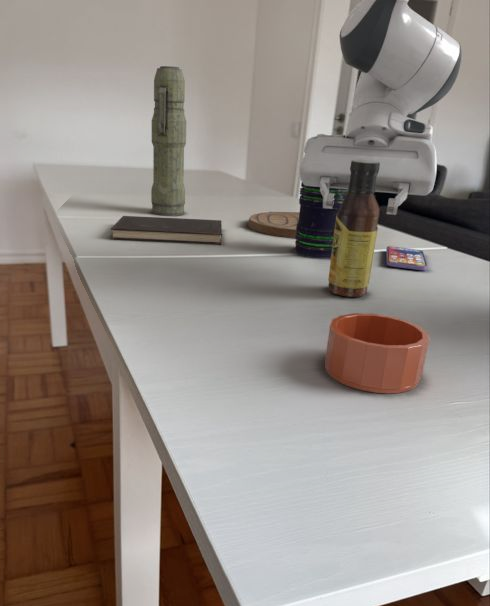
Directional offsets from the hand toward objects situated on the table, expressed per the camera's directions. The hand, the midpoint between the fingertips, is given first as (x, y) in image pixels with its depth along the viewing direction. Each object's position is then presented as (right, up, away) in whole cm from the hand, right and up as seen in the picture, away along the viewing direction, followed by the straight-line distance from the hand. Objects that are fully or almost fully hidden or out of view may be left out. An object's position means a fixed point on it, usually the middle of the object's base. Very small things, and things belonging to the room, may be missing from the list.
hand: (359, 209), depth 82 cm
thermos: (-34, +16, +65) cm, 75 cm away
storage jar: (-1, -2, +29) cm, 29 cm away
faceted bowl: (-5, -24, -23) cm, 33 cm away
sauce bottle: (-1, -12, +4) cm, 13 cm away
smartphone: (+16, -4, +26) cm, 31 cm away
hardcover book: (-32, +4, +40) cm, 51 cm away
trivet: (-1, +9, +53) cm, 54 cm away
